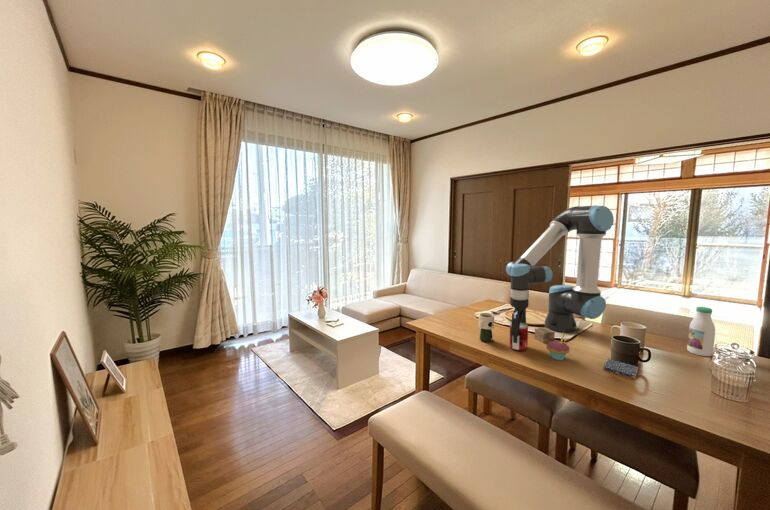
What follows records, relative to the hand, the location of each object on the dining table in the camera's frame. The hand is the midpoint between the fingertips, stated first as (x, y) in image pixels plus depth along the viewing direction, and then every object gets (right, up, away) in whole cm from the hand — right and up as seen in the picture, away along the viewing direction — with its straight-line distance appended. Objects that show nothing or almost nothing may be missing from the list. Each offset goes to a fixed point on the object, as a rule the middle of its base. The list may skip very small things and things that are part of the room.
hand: (518, 345), depth 139 cm
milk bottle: (+74, 0, -9) cm, 75 cm away
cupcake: (+12, -2, -10) cm, 16 cm away
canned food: (0, -1, 0) cm, 1 cm away
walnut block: (+16, 0, +8) cm, 18 cm away
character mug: (-12, -1, +10) cm, 15 cm away
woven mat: (+31, -4, -21) cm, 37 cm away
